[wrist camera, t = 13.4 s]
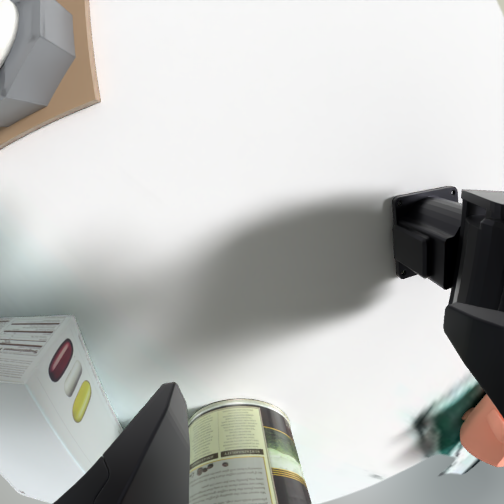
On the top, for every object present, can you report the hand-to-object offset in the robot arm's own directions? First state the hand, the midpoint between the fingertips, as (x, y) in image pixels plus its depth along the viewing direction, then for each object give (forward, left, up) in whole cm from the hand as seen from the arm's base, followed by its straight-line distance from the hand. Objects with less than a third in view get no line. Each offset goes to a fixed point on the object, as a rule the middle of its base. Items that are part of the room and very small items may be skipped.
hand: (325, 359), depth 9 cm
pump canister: (+14, -17, -13) cm, 26 cm away
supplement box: (+23, +10, -13) cm, 28 cm away
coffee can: (+6, +18, -13) cm, 23 cm away
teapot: (-29, +32, -13) cm, 45 cm away
